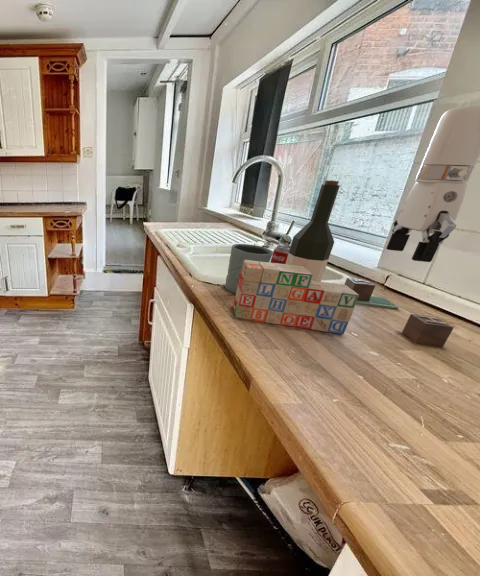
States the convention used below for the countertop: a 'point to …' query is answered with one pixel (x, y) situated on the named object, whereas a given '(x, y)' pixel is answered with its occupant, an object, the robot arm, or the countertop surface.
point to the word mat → (378, 302)
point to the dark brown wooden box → (427, 330)
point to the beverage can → (280, 254)
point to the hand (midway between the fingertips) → (406, 255)
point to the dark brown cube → (361, 288)
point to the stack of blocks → (292, 298)
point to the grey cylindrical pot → (237, 259)
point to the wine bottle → (315, 235)
